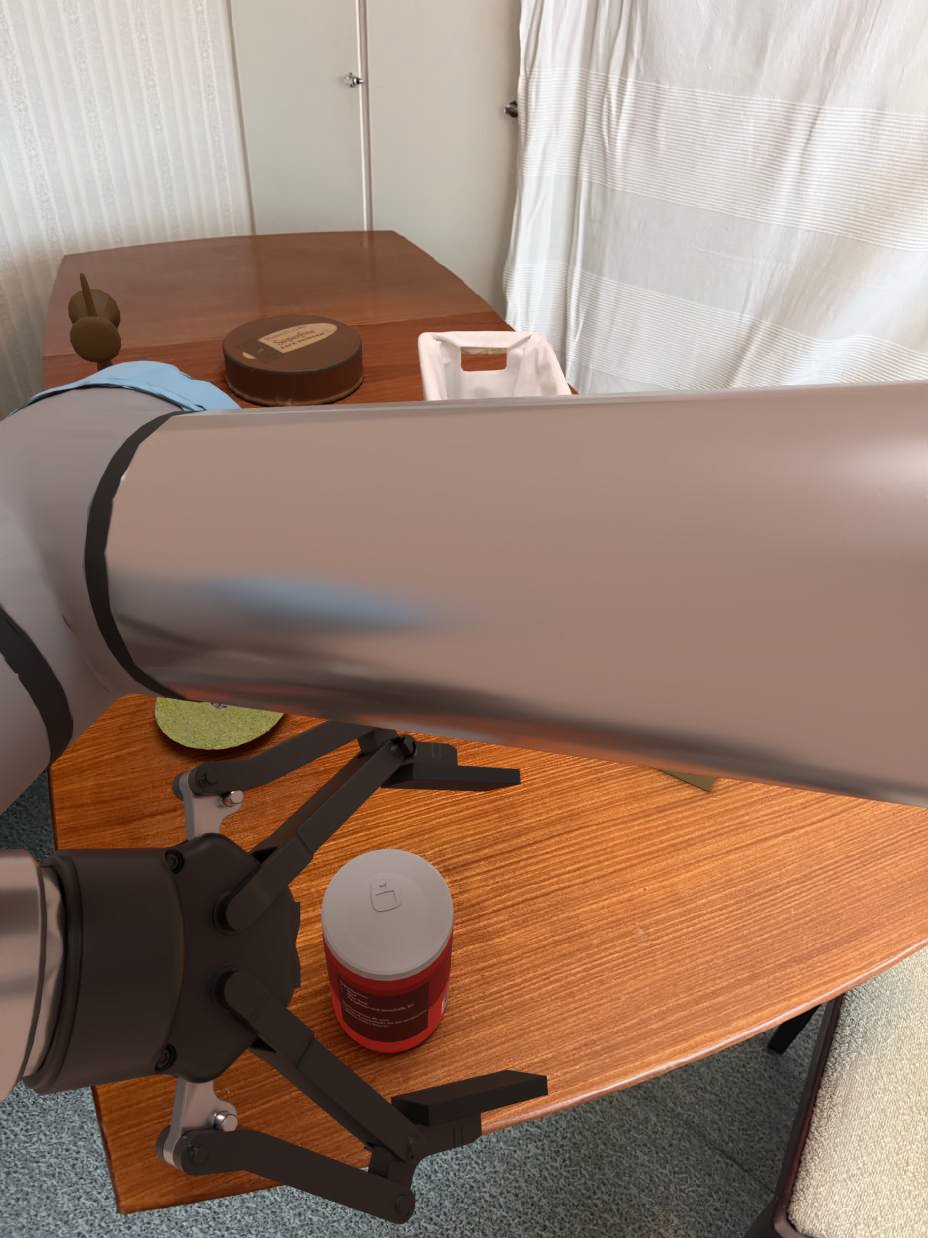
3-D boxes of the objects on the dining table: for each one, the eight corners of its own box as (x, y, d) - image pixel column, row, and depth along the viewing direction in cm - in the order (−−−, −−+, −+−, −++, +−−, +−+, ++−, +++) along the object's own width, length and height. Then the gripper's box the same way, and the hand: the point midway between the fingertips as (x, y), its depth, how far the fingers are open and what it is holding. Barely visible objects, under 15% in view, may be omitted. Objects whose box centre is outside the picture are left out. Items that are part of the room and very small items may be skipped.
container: (282, 423, 112) (277, 380, 108) (199, 375, 122) (192, 334, 118) (391, 380, 123) (391, 340, 119) (307, 339, 133) (304, 300, 129)
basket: (569, 538, 95) (587, 420, 85) (428, 542, 93) (429, 422, 83) (534, 435, 113) (546, 328, 103) (415, 436, 111) (415, 328, 101)
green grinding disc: (308, 678, 76) (306, 663, 75) (264, 774, 68) (261, 759, 67) (192, 659, 77) (189, 644, 76) (135, 751, 69) (130, 735, 68)
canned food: (410, 918, 59) (410, 827, 52) (472, 1015, 54) (481, 929, 47) (311, 974, 56) (296, 885, 48) (367, 1083, 51) (360, 1002, 43)
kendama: (142, 409, 114) (107, 257, 100) (146, 442, 107) (110, 284, 94) (96, 414, 112) (54, 260, 99) (97, 448, 105) (53, 288, 92)
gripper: (39, 636, 34) (450, 689, 47) (-41, 1400, 26) (483, 1210, 39) (93, 575, 28) (542, 654, 41) (14, 1521, 20) (603, 1252, 33)
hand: (514, 923), depth 40 cm, fingers open, 13 cm apart
